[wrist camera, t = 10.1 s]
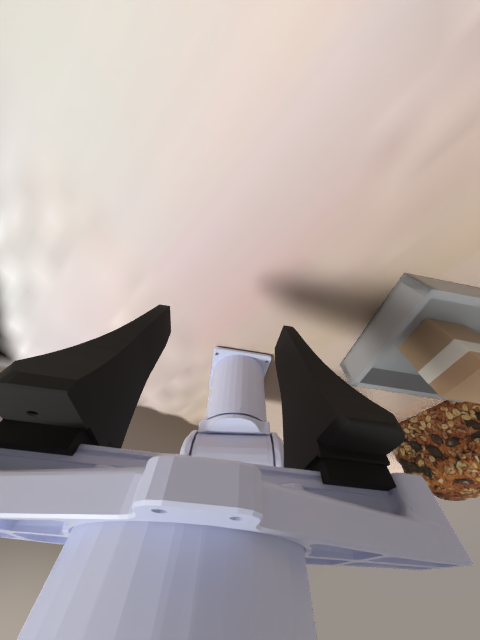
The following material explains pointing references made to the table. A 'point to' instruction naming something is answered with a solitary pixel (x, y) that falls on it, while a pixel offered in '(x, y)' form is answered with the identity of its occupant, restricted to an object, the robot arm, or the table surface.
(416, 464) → the bread
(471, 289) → the bin
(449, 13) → the table surface
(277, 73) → the table surface
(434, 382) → the carton
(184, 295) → the table surface
